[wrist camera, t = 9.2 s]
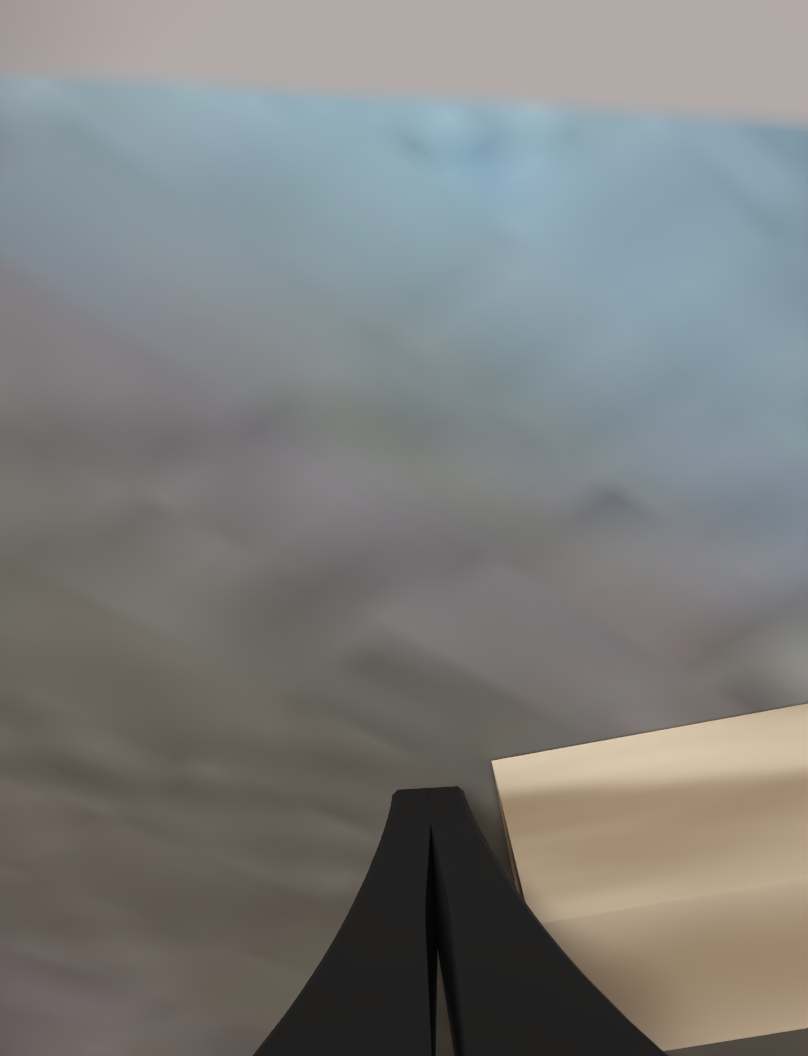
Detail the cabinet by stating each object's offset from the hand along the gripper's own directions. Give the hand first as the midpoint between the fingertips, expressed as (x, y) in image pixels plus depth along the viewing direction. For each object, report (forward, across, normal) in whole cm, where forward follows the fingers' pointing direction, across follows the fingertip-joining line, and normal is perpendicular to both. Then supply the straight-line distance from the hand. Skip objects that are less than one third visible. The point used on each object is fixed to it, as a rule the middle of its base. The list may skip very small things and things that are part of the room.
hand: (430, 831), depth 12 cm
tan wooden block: (+1, -8, 0) cm, 8 cm away
